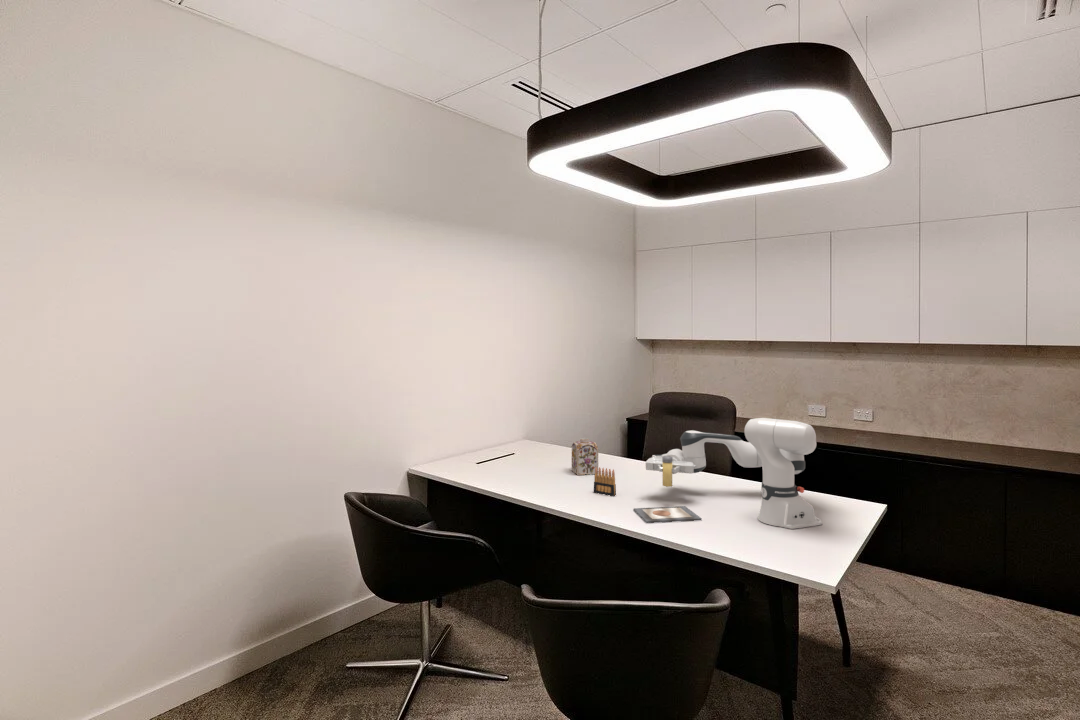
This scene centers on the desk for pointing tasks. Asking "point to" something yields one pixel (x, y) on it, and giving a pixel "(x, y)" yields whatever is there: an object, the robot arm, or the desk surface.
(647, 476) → the desk surface
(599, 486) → the ammunition clip
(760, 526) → the desk surface
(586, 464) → the decorative jar
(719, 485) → the desk surface
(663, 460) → the marker
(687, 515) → the grey metal tray
